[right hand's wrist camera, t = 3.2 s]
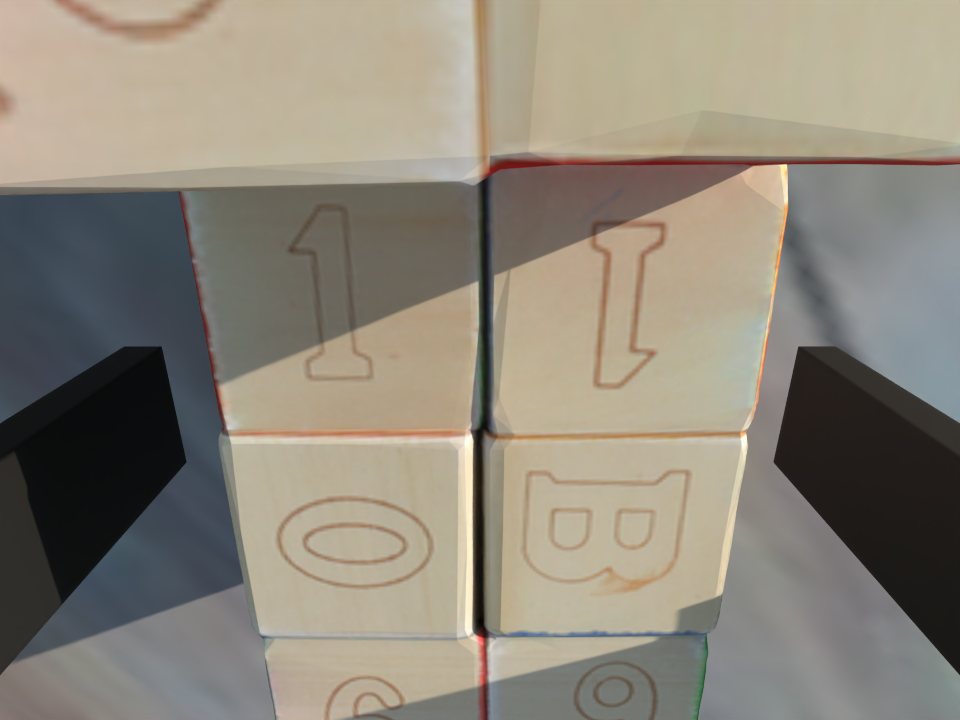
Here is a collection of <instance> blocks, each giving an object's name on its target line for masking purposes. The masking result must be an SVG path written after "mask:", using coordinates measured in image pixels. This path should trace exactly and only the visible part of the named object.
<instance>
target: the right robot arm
mask: <svg viewBox="0 0 960 720" xmlns="http://www.w3.org/2000/svg"><path fill="white" fill-rule="evenodd" d="M185 463H186V458H185V453H184V448H183V444H182V439H181V434H180V430H179V425H178V420H177V416H176V411H175V407H174V402H173V397H172V393H171V388H170V383H169V379H168V374H167V369H166V365H165V360H164V355H163V351H162V347H123V348H121V349H120V350H118V351H116V352H115V353H113V354H112V355H110V356H108V357H107V358H105V359H104V360H102V361H100V362H99V363H97V364H95V365H94V366H92V367H91V368H89V369H87V370H86V371H84V372H83V373H81V374H79V375H78V376H76V377H74V378H73V379H71V380H70V381H68V382H66V383H65V384H63V385H61V386H60V387H58V388H57V389H55V390H53V391H52V392H50V393H49V394H47V395H45V396H44V397H42V398H40V399H39V400H37V401H36V402H34V403H32V404H31V405H29V406H28V407H26V408H24V409H23V410H21V411H19V412H18V413H16V414H15V415H13V416H11V417H10V418H8V419H6V420H5V421H3V422H2V423H0V675H1V674H2V672H3V671H4V670H5V669H6V668H7V667H8V666H9V664H10V663H11V662H12V661H13V660H14V659H15V658H16V656H17V655H18V654H19V653H20V652H21V651H22V650H23V648H24V647H25V646H26V645H27V644H28V643H29V642H30V640H31V639H32V638H33V637H34V636H35V635H36V634H37V632H38V631H39V630H40V629H41V628H42V627H43V626H44V624H45V623H46V622H47V621H48V620H49V619H50V618H51V616H52V615H53V614H54V613H55V612H56V611H57V610H58V608H59V607H60V606H61V605H62V604H63V603H64V602H65V600H66V599H67V598H68V597H69V596H70V595H71V594H72V592H73V591H74V590H75V589H76V588H77V587H78V586H79V584H80V583H81V582H82V581H83V580H84V579H85V578H86V576H87V575H88V574H89V573H90V572H91V571H92V570H93V568H94V567H95V566H96V565H97V564H98V563H99V562H100V560H101V559H102V558H103V557H104V556H105V555H106V554H107V552H108V551H109V550H110V549H111V548H112V547H113V546H114V544H115V543H116V542H117V541H118V540H119V539H120V538H121V536H122V535H123V534H124V533H125V532H126V531H127V530H128V528H129V527H130V526H131V525H132V524H133V523H134V522H135V520H136V519H137V518H138V517H139V516H140V515H141V514H142V512H143V511H144V510H145V509H146V508H147V507H148V506H149V504H150V503H151V502H152V501H153V500H154V499H155V498H156V496H157V495H158V494H159V493H160V492H161V491H162V490H163V488H164V487H165V486H166V485H167V484H168V483H169V482H170V480H171V479H172V478H173V477H174V476H175V475H176V474H177V472H178V471H179V470H180V469H181V468H182V467H183V466H184V464H185ZM774 463H775V464H776V466H777V467H778V468H779V469H780V470H781V471H782V472H783V474H784V475H785V476H786V477H787V478H788V479H789V480H790V482H791V483H792V484H793V485H794V486H795V487H796V488H797V490H798V491H799V492H800V493H801V494H802V495H803V496H804V498H805V499H806V500H807V501H808V502H809V503H810V504H811V506H812V507H813V508H814V509H815V510H816V511H817V512H818V514H819V515H820V516H821V517H822V518H823V519H824V520H825V522H826V523H827V524H828V525H829V526H830V527H831V528H832V530H833V531H834V532H835V533H836V534H837V535H838V536H839V538H840V539H841V540H842V541H843V542H844V543H845V544H846V546H847V547H848V548H849V549H850V550H851V551H852V552H853V554H854V555H855V556H856V557H857V558H858V559H859V560H860V562H861V563H862V564H863V565H864V566H865V567H866V568H867V570H868V571H869V572H870V573H871V574H872V575H873V576H874V578H875V579H876V580H877V581H878V582H879V583H880V584H881V586H882V587H883V588H884V589H885V590H886V591H887V592H888V594H889V595H890V596H891V597H892V598H893V599H894V600H895V602H896V603H897V604H898V605H899V606H900V607H901V608H902V610H903V611H904V612H905V613H906V614H907V615H908V616H909V618H910V619H911V620H912V621H913V622H914V623H915V624H916V626H917V627H918V628H919V629H920V630H921V631H922V632H923V634H924V635H925V636H926V637H927V638H928V639H929V640H930V642H931V643H932V644H933V645H934V646H935V647H936V648H937V650H938V651H939V652H940V653H941V654H942V655H943V656H944V658H945V659H946V660H947V661H948V662H949V663H950V664H951V666H952V667H953V668H954V669H955V670H956V671H957V672H958V674H959V675H960V423H958V422H957V421H955V420H954V419H952V418H950V417H949V416H947V415H945V414H944V413H942V412H941V411H939V410H937V409H936V408H934V407H932V406H931V405H929V404H928V403H926V402H924V401H923V400H921V399H920V398H918V397H916V396H915V395H913V394H911V393H910V392H908V391H907V390H905V389H903V388H902V387H900V386H899V385H897V384H895V383H894V382H892V381H890V380H889V379H887V378H886V377H884V376H882V375H881V374H879V373H877V372H876V371H874V370H873V369H871V368H869V367H868V366H866V365H865V364H863V363H861V362H860V361H858V360H856V359H855V358H853V357H852V356H850V355H848V354H847V353H845V352H844V351H842V350H840V349H839V348H837V347H798V351H797V355H796V360H795V365H794V369H793V374H792V379H791V383H790V388H789V393H788V397H787V402H786V407H785V411H784V416H783V420H782V425H781V430H780V434H779V439H778V444H777V448H776V453H775V458H774Z"/></svg>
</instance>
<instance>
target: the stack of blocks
mask: <svg viewBox="0 0 960 720" xmlns="http://www.w3.org/2000/svg"><path fill="white" fill-rule="evenodd" d="M787 164H885V165H953V164H960V0H0V195H38V194H85V193H132V192H179V194H180V201H181V207H182V212H183V217H184V222H185V227H186V232H187V238H188V243H189V249H190V254H191V260H192V265H193V271H194V276H195V281H196V287H197V292H198V298H199V303H200V308H201V314H202V319H203V325H204V330H205V335H206V341H207V346H208V352H209V358H210V363H211V369H212V375H213V380H214V386H215V392H216V397H217V402H218V408H219V413H220V417H221V420H222V424H223V429H222V431H221V433H220V435H219V452H220V458H221V463H222V469H223V474H224V479H225V485H226V490H227V496H228V501H229V507H230V512H231V517H232V523H233V528H234V534H235V539H236V545H237V550H238V555H239V561H240V566H241V571H242V576H243V582H244V587H245V592H246V598H247V603H248V608H249V613H250V619H251V624H252V627H253V629H254V631H255V633H257V634H258V635H260V636H261V637H262V638H264V654H265V662H266V670H267V676H268V681H269V687H270V693H271V697H272V702H273V706H274V713H275V720H698V714H699V707H700V702H701V698H702V693H703V687H704V680H705V673H706V661H707V656H708V646H707V633H710V632H711V631H712V630H713V629H714V628H715V627H716V624H717V622H718V618H719V614H720V607H721V600H722V593H723V587H724V581H725V576H726V571H727V566H728V561H729V555H730V550H731V543H732V537H733V530H734V524H735V517H736V511H737V504H738V498H739V492H740V487H741V482H742V477H743V472H744V468H745V461H746V454H747V447H748V446H747V437H746V431H747V429H748V427H749V425H750V423H751V421H752V420H753V416H754V412H755V409H756V406H757V403H758V399H759V387H760V382H761V377H762V372H763V366H764V360H765V354H766V348H767V342H768V336H769V330H770V323H771V316H772V309H773V301H774V294H775V287H776V280H777V274H778V267H779V261H780V254H781V248H782V241H783V235H784V229H785V223H786V217H787V210H788V189H787Z"/></svg>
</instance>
